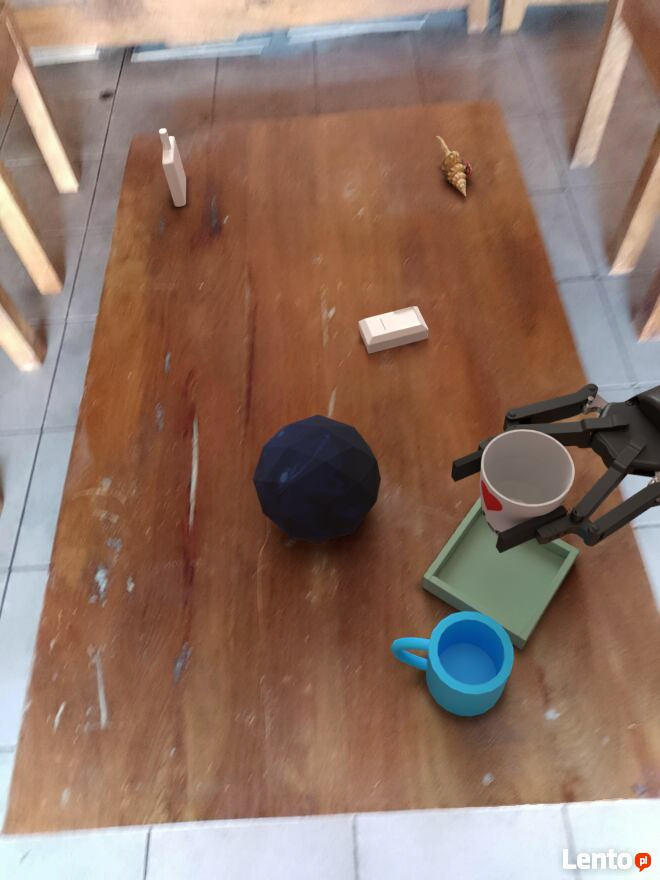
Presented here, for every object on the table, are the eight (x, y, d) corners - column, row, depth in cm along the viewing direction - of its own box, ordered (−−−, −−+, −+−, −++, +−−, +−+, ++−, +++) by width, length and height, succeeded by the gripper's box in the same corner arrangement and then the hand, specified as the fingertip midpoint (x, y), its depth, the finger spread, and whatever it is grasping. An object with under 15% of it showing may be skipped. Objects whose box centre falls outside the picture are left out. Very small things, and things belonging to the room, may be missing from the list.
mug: (508, 648, 77) (518, 620, 71) (498, 725, 73) (508, 703, 66) (399, 623, 80) (399, 595, 73) (383, 696, 75) (381, 673, 69)
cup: (468, 485, 75) (477, 429, 66) (548, 484, 74) (567, 428, 66) (474, 556, 70) (485, 506, 62) (559, 556, 69) (581, 506, 61)
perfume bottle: (175, 179, 130) (157, 118, 120) (186, 178, 130) (169, 116, 120) (174, 207, 126) (155, 145, 116) (186, 205, 126) (167, 144, 116)
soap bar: (358, 329, 106) (358, 317, 103) (416, 315, 106) (417, 302, 104) (368, 353, 103) (368, 341, 101) (428, 338, 104) (428, 325, 101)
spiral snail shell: (488, 189, 122) (492, 166, 118) (464, 200, 120) (467, 177, 117) (439, 152, 129) (441, 129, 125) (416, 162, 127) (417, 139, 124)
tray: (574, 561, 82) (580, 550, 80) (521, 650, 77) (525, 640, 75) (478, 507, 87) (480, 495, 85) (422, 587, 82) (422, 576, 80)
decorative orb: (232, 552, 80) (300, 490, 70) (233, 442, 89) (294, 373, 79) (338, 574, 87) (414, 520, 77) (329, 470, 96) (397, 410, 86)
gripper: (742, 519, 67) (530, 618, 63) (609, 369, 78) (423, 446, 75) (777, 478, 61) (544, 584, 57) (627, 321, 72) (425, 402, 68)
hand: (476, 506), depth 66 cm, fingers closed on cup, 8 cm apart
